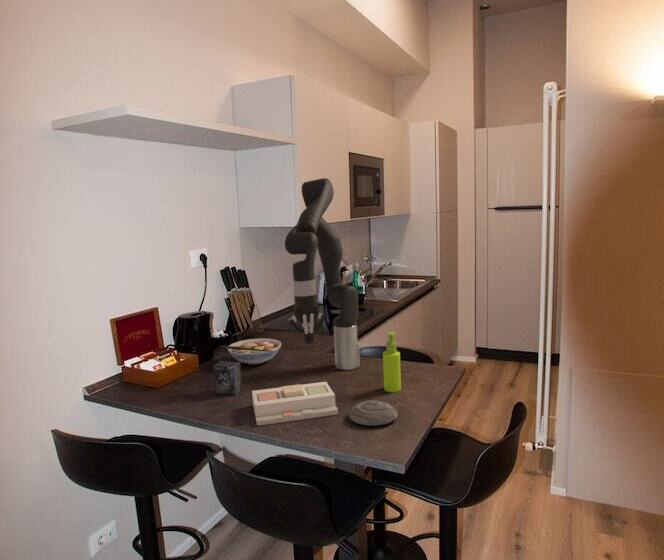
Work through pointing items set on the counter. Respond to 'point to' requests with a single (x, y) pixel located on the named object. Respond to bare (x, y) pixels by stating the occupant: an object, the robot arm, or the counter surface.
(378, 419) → the flying saucer
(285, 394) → the sand key
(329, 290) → the robot arm
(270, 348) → the ramen bowl
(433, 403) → the counter surface
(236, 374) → the box
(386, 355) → the soap dispenser
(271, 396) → the coral key
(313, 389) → the sage key
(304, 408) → the keypad
